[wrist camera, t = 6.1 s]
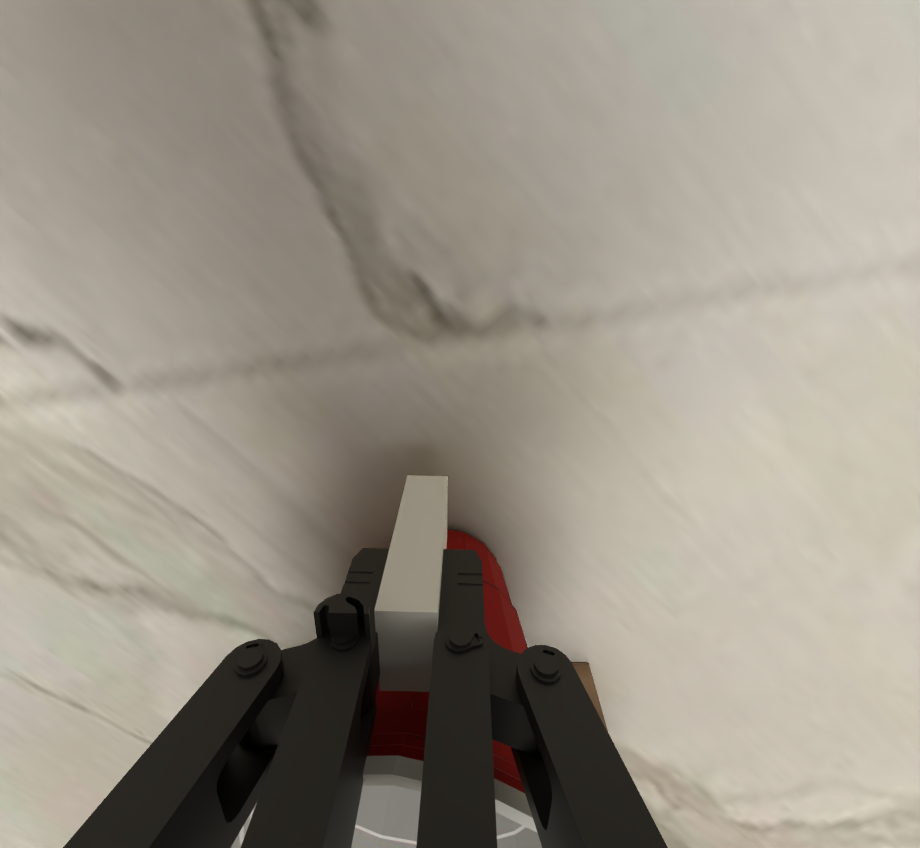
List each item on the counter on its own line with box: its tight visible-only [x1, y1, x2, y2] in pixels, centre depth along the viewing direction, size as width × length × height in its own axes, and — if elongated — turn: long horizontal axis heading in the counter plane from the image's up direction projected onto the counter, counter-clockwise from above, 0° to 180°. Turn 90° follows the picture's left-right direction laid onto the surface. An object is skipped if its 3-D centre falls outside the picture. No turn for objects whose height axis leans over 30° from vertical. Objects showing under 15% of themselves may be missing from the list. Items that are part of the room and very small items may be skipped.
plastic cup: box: [231, 530, 542, 848], centre depth 17 cm, size 11×11×12 cm
